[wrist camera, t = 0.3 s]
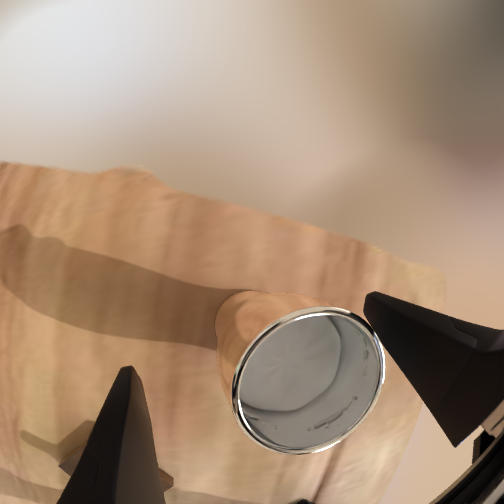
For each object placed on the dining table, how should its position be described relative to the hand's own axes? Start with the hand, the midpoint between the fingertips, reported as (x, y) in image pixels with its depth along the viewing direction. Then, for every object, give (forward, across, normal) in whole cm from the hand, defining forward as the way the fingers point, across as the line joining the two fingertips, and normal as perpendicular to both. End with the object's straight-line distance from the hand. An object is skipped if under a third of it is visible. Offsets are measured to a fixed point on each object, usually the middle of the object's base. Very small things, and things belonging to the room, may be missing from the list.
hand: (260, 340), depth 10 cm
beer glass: (+11, -2, +10) cm, 15 cm away
